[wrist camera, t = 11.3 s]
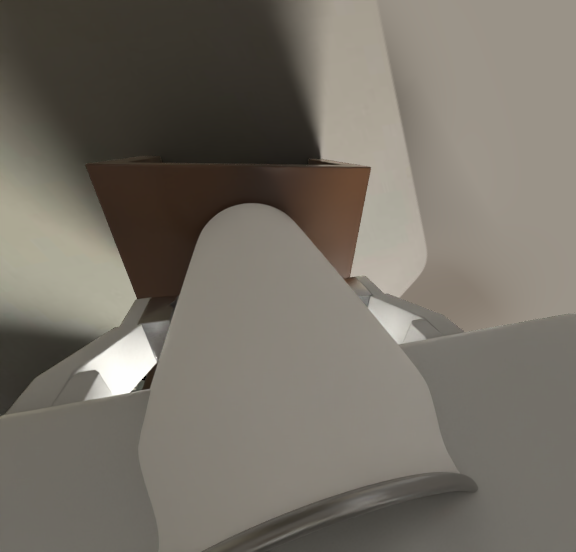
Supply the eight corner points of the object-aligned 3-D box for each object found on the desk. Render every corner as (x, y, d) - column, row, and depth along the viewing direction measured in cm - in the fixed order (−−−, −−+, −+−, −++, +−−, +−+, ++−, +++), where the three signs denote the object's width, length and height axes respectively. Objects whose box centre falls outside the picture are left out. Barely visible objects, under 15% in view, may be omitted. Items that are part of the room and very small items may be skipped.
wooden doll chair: (321, 158, 19) (467, 181, 8) (310, 281, 26) (380, 397, 14) (142, 155, 16) (-74, 184, 5) (179, 294, 23) (128, 456, 11)
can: (179, 279, 13) (30, 696, 3) (223, 176, 11) (178, 490, 1) (273, 309, 16) (347, 584, 6) (322, 232, 14) (569, 464, 4)
